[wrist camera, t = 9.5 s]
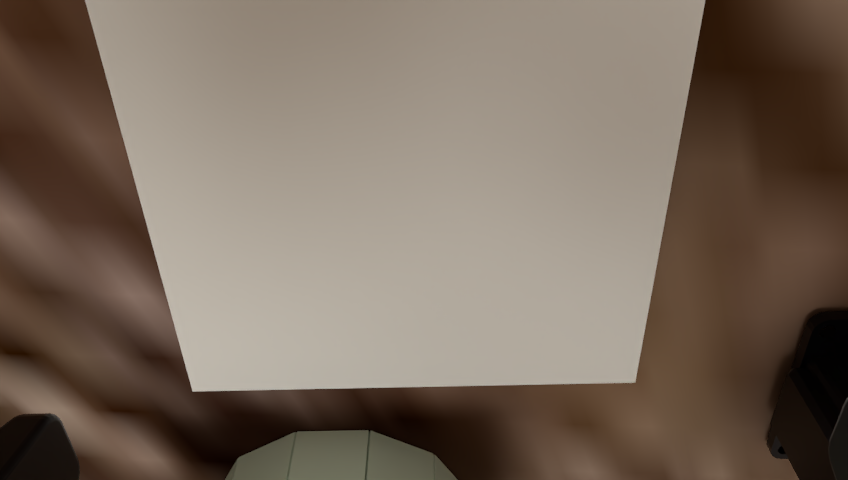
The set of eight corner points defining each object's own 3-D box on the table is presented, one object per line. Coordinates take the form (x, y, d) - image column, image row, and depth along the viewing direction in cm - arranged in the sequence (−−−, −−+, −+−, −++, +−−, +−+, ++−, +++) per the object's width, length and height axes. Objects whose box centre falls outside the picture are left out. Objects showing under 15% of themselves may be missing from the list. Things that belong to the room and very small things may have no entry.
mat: (718, -106, 17) (724, -103, 16) (632, 374, 25) (635, 382, 25) (68, -88, 17) (62, -85, 17) (195, 383, 25) (192, 391, 25)
